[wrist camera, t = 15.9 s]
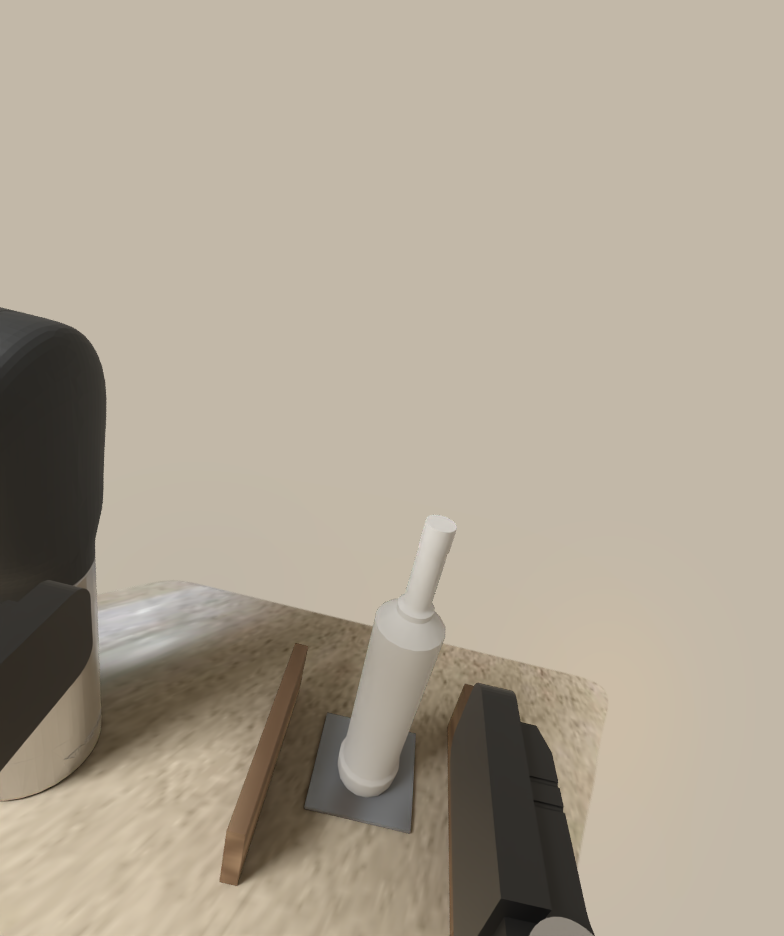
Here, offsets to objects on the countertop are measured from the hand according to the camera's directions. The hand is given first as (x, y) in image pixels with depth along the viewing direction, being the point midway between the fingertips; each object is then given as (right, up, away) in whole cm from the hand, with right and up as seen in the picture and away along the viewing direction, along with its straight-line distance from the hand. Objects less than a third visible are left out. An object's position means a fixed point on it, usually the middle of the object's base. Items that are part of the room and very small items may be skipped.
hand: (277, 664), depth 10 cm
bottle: (0, -22, +32) cm, 39 cm away
